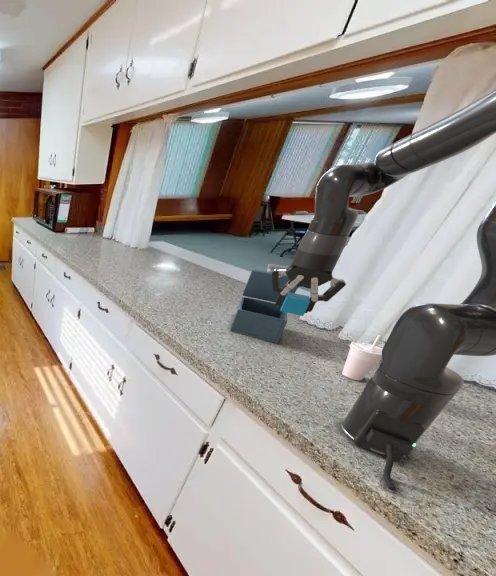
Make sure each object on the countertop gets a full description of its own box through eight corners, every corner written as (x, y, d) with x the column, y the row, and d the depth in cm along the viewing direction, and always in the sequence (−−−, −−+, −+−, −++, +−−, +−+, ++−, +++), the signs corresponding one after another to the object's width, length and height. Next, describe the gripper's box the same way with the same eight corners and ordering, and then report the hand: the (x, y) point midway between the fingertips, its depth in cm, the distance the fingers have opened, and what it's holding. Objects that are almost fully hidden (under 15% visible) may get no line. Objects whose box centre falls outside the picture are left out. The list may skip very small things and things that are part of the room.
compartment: (277, 343, 99) (287, 321, 95) (230, 330, 107) (238, 309, 103) (277, 326, 108) (287, 305, 105) (234, 315, 116) (242, 295, 113)
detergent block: (303, 316, 78) (310, 301, 76) (280, 311, 80) (286, 296, 79) (302, 310, 81) (309, 296, 79) (280, 305, 83) (286, 291, 82)
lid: (303, 279, 94) (306, 265, 96) (251, 270, 102) (256, 258, 104) (287, 305, 105) (290, 292, 106) (242, 295, 113) (246, 284, 114)
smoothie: (360, 385, 80) (387, 343, 74) (329, 371, 86) (352, 330, 80) (375, 381, 82) (402, 338, 76) (344, 366, 87) (367, 326, 82)
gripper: (280, 248, 76) (257, 306, 83) (366, 259, 67) (331, 323, 74) (280, 242, 81) (258, 297, 88) (360, 251, 72) (328, 312, 79)
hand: (292, 308), depth 81 cm, fingers closed on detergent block, 4 cm apart
